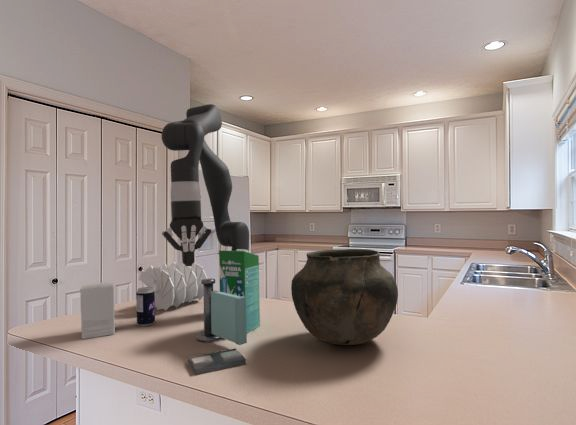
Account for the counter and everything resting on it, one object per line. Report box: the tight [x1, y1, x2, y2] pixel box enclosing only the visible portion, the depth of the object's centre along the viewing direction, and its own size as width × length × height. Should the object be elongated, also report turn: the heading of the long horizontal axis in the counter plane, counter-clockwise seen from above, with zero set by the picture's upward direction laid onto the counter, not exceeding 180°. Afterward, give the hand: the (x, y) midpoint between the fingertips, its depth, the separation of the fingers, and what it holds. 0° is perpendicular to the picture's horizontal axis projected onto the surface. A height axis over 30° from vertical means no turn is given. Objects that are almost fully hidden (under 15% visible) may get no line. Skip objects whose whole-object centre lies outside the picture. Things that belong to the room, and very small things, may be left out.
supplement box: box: [79, 281, 116, 340], centre depth 113 cm, size 9×9×15 cm
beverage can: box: [135, 286, 156, 327], centre depth 121 cm, size 6×6×12 cm
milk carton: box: [218, 249, 261, 334], centre depth 115 cm, size 9×9×25 cm
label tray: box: [187, 348, 247, 376], centre depth 88 cm, size 12×8×2 cm, turn 117°
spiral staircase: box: [138, 260, 209, 311], centre depth 147 cm, size 18×18×25 cm
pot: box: [290, 248, 399, 346], centre depth 101 cm, size 29×32×25 cm
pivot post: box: [196, 277, 222, 343], centre depth 106 cm, size 7×7×17 cm
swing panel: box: [211, 290, 248, 346], centre depth 100 cm, size 14×2×12 cm, turn 45°
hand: (188, 265), depth 96 cm, fingers closed
